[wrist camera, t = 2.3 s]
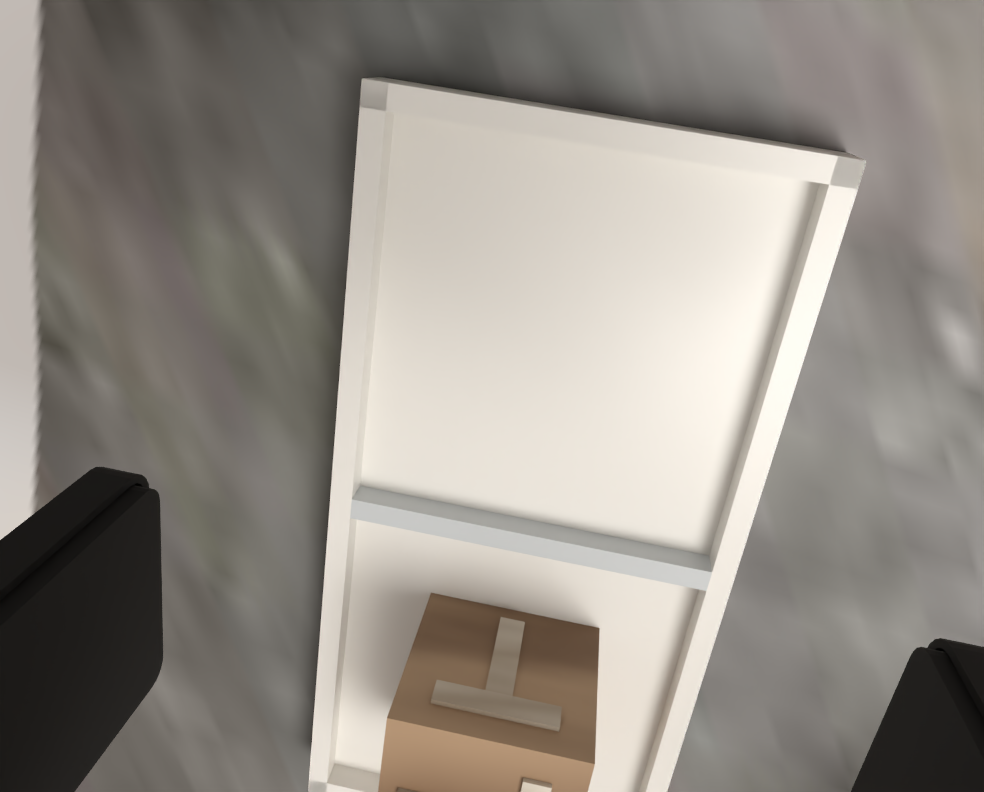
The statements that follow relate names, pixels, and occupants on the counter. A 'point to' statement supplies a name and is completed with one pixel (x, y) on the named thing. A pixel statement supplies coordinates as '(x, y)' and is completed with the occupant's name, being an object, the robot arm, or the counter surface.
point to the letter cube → (493, 703)
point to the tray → (559, 394)
